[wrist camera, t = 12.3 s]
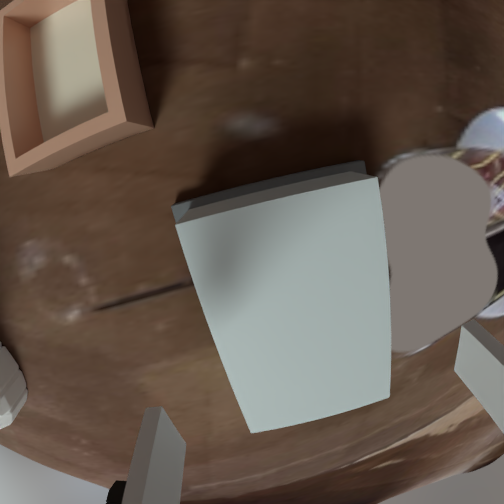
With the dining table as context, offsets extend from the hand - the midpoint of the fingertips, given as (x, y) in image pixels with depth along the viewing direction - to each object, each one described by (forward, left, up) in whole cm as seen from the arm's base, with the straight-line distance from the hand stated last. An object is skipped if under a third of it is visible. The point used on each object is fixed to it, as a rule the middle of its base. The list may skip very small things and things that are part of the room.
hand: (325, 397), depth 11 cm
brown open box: (-19, -10, -10) cm, 23 cm away
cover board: (0, 0, -9) cm, 9 cm away
